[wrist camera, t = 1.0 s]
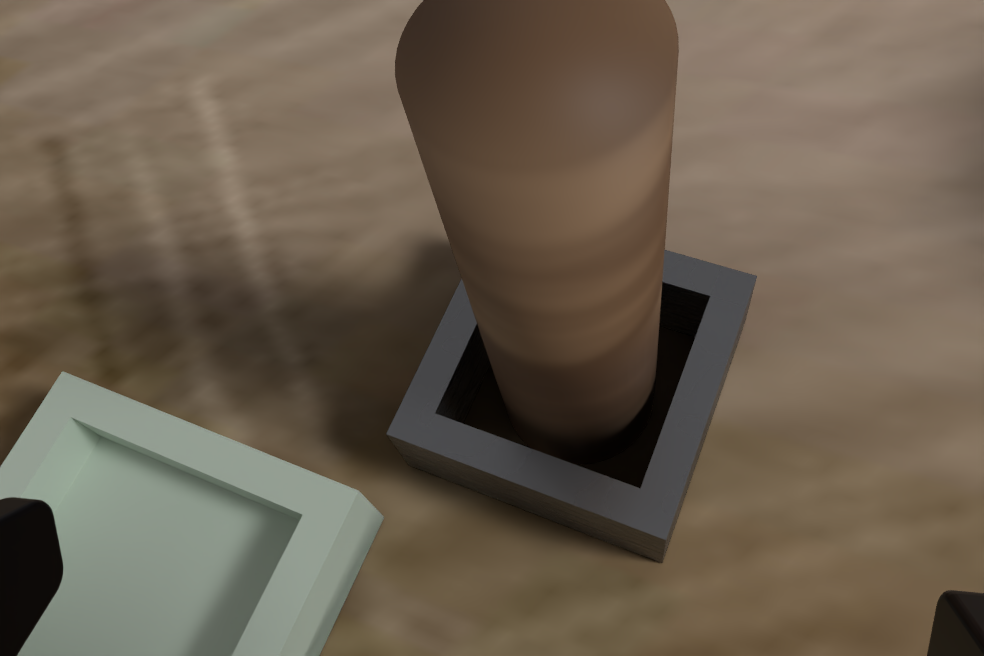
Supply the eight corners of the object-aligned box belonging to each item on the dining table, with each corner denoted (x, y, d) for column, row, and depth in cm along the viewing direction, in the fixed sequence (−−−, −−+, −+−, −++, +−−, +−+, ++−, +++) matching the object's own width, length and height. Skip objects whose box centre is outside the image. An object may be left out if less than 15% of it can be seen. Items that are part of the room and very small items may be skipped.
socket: (662, 563, 22) (665, 540, 20) (408, 465, 24) (386, 434, 22) (745, 321, 25) (756, 276, 22) (509, 250, 26) (498, 202, 24)
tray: (188, 935, 20) (132, 956, 18) (-107, 758, 22) (-188, 757, 20) (384, 517, 23) (358, 490, 21) (110, 405, 26) (62, 371, 24)
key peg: (624, 486, 23) (620, 200, 11) (482, 434, 24) (347, 125, 13) (674, 351, 24) (715, -25, 13) (537, 308, 26) (462, -73, 14)
